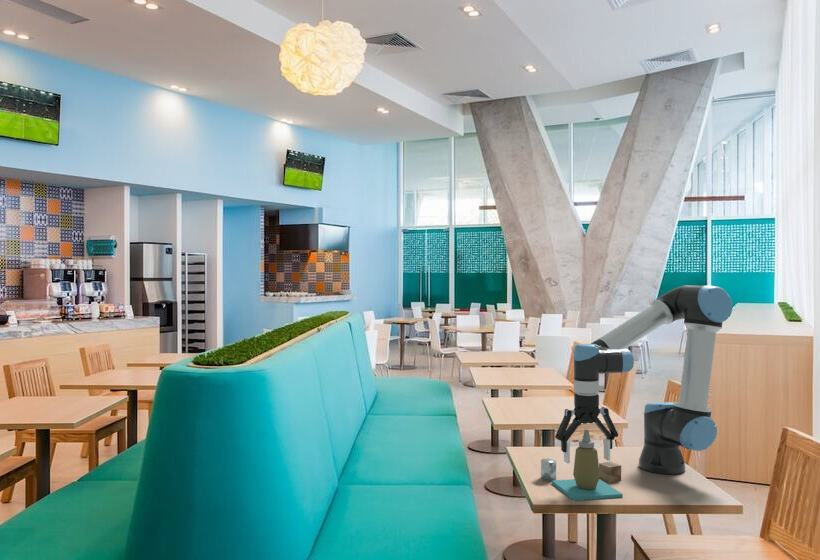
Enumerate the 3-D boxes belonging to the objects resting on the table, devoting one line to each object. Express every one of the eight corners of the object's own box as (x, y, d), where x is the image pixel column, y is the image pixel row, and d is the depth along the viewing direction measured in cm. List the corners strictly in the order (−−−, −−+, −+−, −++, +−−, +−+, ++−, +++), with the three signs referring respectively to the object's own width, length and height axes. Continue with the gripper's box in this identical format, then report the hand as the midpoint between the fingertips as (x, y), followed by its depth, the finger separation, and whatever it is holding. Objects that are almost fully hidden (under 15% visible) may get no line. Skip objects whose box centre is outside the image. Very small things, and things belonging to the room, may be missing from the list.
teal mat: (597, 480, 211) (597, 477, 211) (622, 497, 195) (622, 493, 195) (551, 483, 208) (551, 480, 208) (573, 500, 192) (573, 497, 192)
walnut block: (610, 476, 216) (610, 461, 216) (621, 480, 211) (621, 465, 211) (598, 478, 214) (599, 463, 214) (609, 482, 209) (609, 467, 209)
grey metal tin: (552, 476, 216) (552, 458, 216) (558, 480, 211) (558, 462, 211) (538, 477, 215) (538, 459, 215) (544, 481, 210) (544, 463, 210)
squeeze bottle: (568, 487, 201) (568, 430, 201) (580, 481, 207) (580, 425, 207) (593, 493, 195) (593, 434, 195) (604, 486, 202) (604, 429, 202)
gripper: (616, 389, 207) (617, 454, 207) (544, 393, 202) (544, 459, 203) (629, 393, 200) (629, 461, 200) (554, 397, 195) (554, 466, 195)
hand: (587, 460), depth 201 cm, fingers open, 13 cm apart
